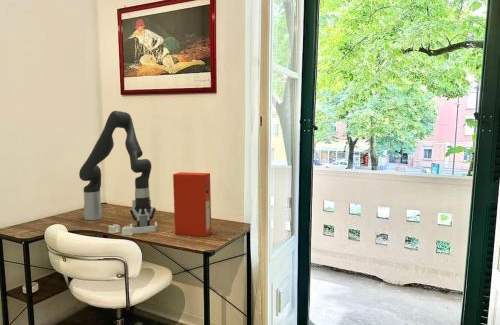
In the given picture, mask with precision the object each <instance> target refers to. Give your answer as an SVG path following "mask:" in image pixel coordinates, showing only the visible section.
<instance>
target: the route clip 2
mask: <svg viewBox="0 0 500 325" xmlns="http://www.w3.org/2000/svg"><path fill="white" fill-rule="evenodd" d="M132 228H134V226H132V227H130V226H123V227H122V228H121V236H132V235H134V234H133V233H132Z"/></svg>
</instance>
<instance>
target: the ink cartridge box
mask: <svg viewBox="0 0 500 325" xmlns="http://www.w3.org/2000/svg"><path fill="white" fill-rule="evenodd" d="M131 202H132V204H131V205H132V208H131V209H134V208H135V206H136V205H135V199H133V200H132V201H131ZM151 203H152V199H150V206H151ZM151 207H152V206H151ZM148 214H149V217H150V216H151V214H152V211H151V209H150V210H149V212H148ZM134 215H135V217H138V213H137V212H136V210H135V212H134ZM144 215H146V214H142V215H140V216H144Z"/></svg>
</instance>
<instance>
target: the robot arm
mask: <svg viewBox="0 0 500 325" xmlns="http://www.w3.org/2000/svg"><path fill="white" fill-rule="evenodd" d="M133 122H134V121H133V118H132V116H131V115H130V113H129V112H126V111H119V110H113V111H111V112H110V114H109V115H108V117H107V120H106V121H105V125H104V127H103V130H102V132H101V134H100V135H99V138H97V141H96V142H95V144H94V146H93V149H92V151H91V152H90V154H89V155H88V157H87V159H86V160H85V161H84V163H83V165H82V166H81V167H80V170H79V173H78V174H79V176H78V177H79V179H80V180H81V181H83V182H89V183H88V184H87V185H85V186H84V187H83V200H84V202H83V215H84V216H83V218H84V221H95V220H100V219H102V201H101V200H102V199H101V187H102V170H101V168H100V166H99V164H100V163H101V162H103V161H104V160H105V159H107V157H108V156H109V155H110V154H111V152H112V150H113V149H114V145H115V143H114V142H115V141H114V138H113V134H114V131H116V128H120V129H124V131H125V133H126V138H125V142H124V144H125V149H126V151H127V154H128V156H129V163H130V169H131V171H132V172H133V173H134V174H141V175H140V176H137V177H135V179H134V187H135V189H134V190H135V191H134V198H135V199H134V200H135V205H136V206H135V208H134V209H133V208H130V209H129V213H130V214H131V217H132V221H136V226H137V227H140V223H139V218H140V215H142V214H146V217H147V226H151V221H150V220H152V219H154V216H155V213H156V211H157V208H156V207H154V206H150V200H151V197H150V196H151V195H150V185H149V184H150V183H149V182H150V175H151V171H152V162H151V161H150V160H149V159H148V158H143V159H140V158H141V157H142V156H143V151H142V147H141V146H140V144H139V141H138V138H137V135H136V131H135V127H134V126H135V125H134V124H133ZM150 209H151V216H150V217H149V214H148V212H149V210H150ZM135 210H136V212H137V213H138V217H135V215H134V212H135Z"/></svg>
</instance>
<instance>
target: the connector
mask: <svg viewBox="0 0 500 325" xmlns="http://www.w3.org/2000/svg"><path fill="white" fill-rule="evenodd" d="M139 223H140V227H146V226H147V217H146V215H144V216H140V218H139Z"/></svg>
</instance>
